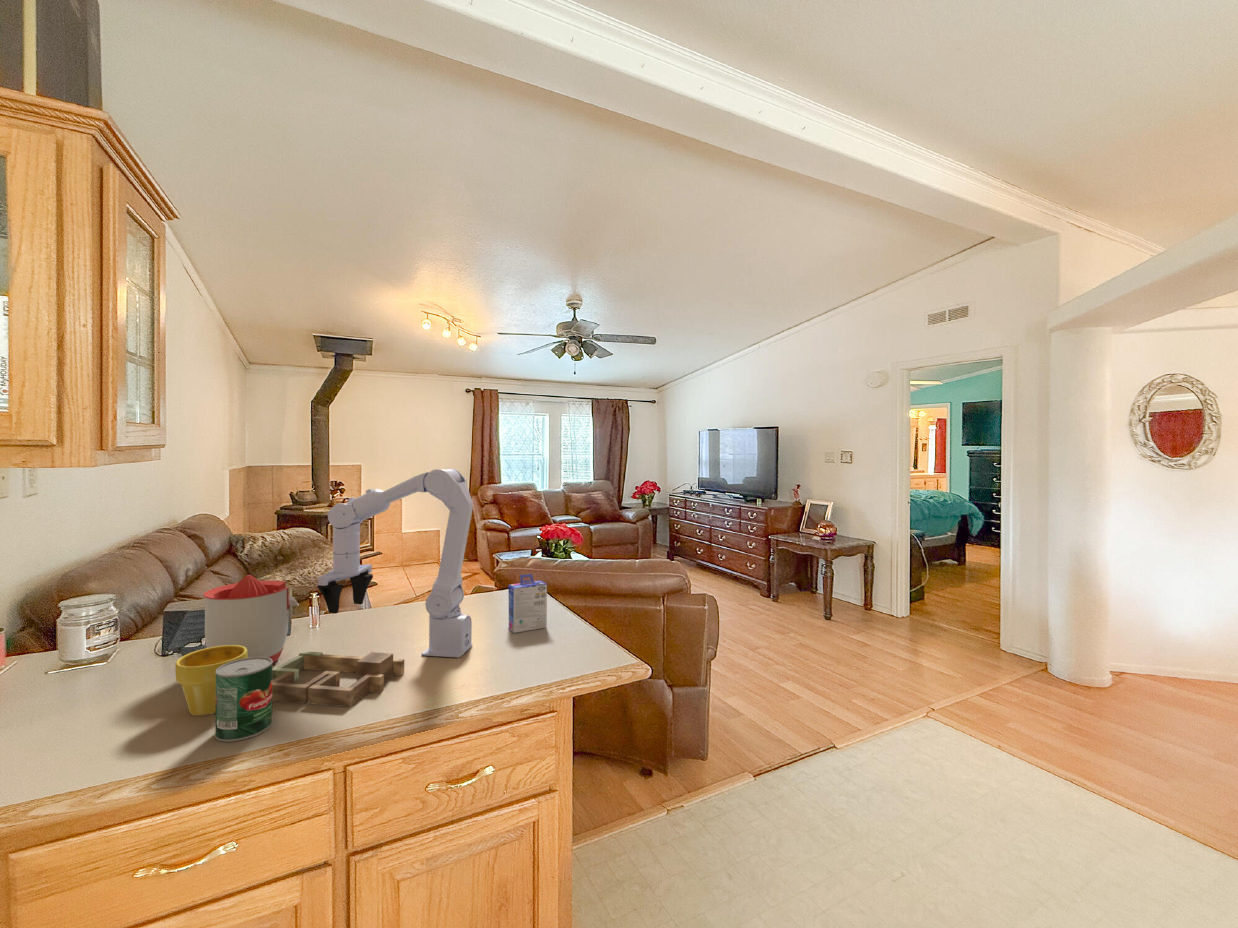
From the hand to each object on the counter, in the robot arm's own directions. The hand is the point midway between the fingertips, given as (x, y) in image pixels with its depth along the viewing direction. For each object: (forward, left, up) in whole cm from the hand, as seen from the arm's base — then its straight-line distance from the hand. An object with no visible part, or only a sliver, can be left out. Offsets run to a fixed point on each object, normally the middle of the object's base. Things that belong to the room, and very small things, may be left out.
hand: (346, 608), depth 122 cm
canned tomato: (-6, +36, -10) cm, 38 cm away
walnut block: (-17, +15, -10) cm, 25 cm away
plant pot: (+6, +30, -10) cm, 32 cm away
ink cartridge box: (-39, -21, -10) cm, 46 cm away
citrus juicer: (+15, +11, -10) cm, 21 cm away
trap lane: (-9, +19, -10) cm, 23 cm away
